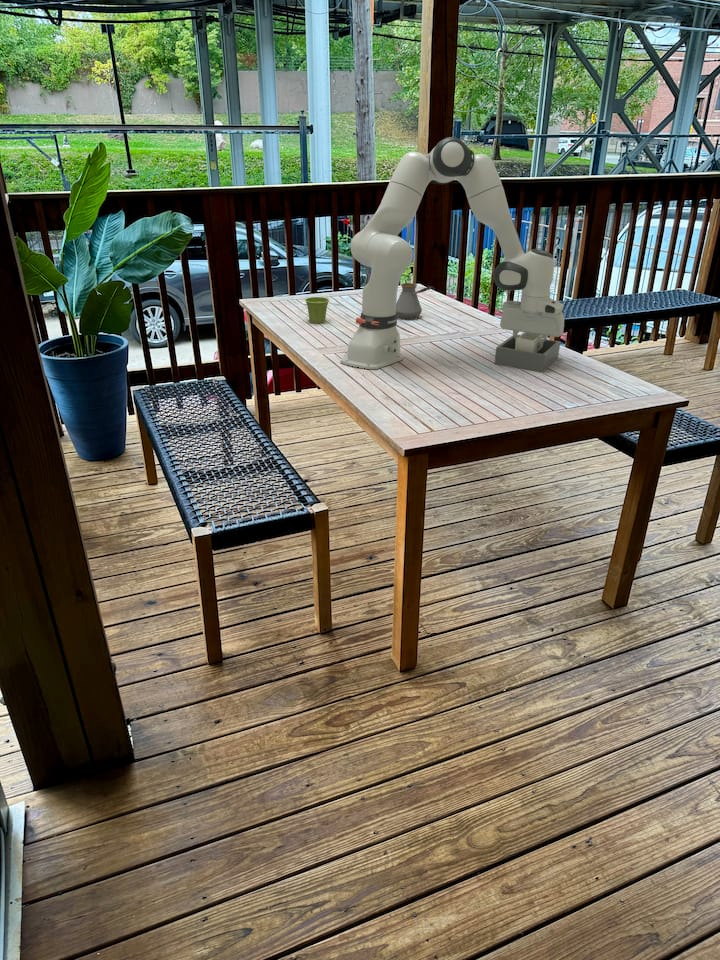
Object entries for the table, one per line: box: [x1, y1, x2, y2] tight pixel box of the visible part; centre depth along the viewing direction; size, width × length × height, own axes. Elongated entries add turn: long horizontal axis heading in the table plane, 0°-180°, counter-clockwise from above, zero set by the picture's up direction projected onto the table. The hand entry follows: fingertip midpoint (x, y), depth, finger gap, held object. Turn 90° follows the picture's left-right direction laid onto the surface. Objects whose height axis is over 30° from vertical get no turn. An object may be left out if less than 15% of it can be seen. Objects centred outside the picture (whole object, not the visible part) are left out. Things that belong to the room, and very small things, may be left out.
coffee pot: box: [396, 282, 434, 320], centre depth 259 cm, size 21×12×15 cm, turn 31°
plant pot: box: [304, 296, 330, 324], centre depth 255 cm, size 9×9×9 cm
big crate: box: [494, 334, 561, 373], centre depth 215 cm, size 18×16×6 cm
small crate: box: [515, 332, 544, 353], centre depth 214 cm, size 10×6×5 cm, turn 150°
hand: (528, 345), depth 214 cm, fingers closed on small crate, 6 cm apart
